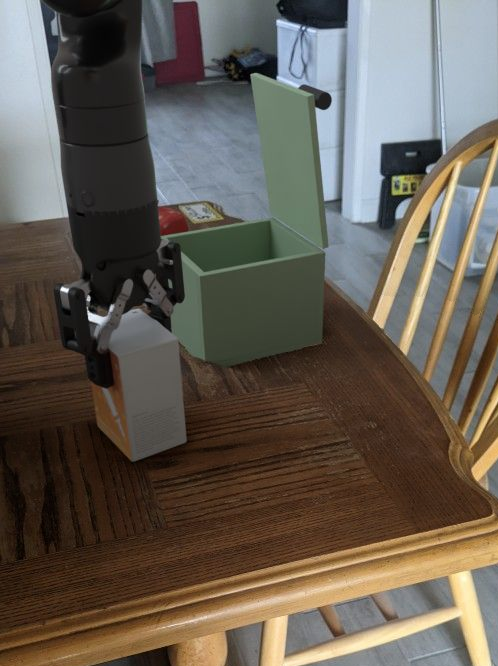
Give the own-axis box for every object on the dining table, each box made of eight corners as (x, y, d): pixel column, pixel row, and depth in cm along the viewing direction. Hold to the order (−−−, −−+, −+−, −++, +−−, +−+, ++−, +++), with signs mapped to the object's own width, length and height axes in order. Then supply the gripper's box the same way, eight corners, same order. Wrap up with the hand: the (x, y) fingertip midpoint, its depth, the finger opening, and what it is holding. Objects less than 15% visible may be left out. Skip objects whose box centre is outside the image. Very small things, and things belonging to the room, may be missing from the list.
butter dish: (103, 258, 121) (95, 202, 116) (147, 235, 129) (142, 182, 124) (163, 271, 117) (158, 214, 112) (205, 247, 125) (202, 193, 120)
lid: (307, 96, 80) (351, 83, 81) (250, 74, 90) (289, 63, 91) (322, 249, 90) (361, 235, 92) (270, 214, 100) (305, 202, 102)
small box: (98, 437, 81) (79, 322, 74) (152, 418, 84) (139, 306, 76) (133, 475, 76) (117, 355, 68) (189, 453, 79) (180, 336, 71)
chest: (205, 372, 92) (199, 276, 85) (165, 326, 102) (157, 236, 95) (322, 344, 98) (325, 252, 91) (273, 303, 108) (273, 217, 101)
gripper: (135, 166, 71) (152, 329, 81) (13, 208, 62) (50, 387, 72) (200, 179, 68) (209, 348, 78) (82, 226, 58) (110, 411, 68)
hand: (133, 367), depth 75 cm, fingers closed on small box, 7 cm apart
